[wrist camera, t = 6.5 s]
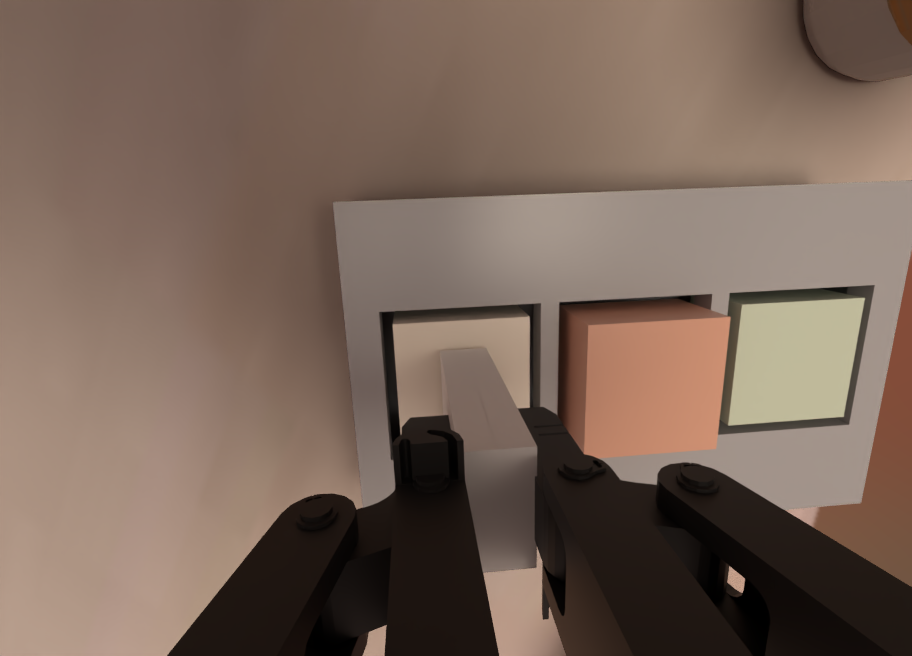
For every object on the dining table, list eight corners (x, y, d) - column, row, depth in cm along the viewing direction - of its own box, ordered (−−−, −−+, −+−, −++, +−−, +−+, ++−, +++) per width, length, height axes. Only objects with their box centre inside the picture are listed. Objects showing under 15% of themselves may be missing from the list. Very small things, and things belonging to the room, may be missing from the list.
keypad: (352, 203, 19) (332, 201, 14) (811, 185, 20) (925, 179, 15) (376, 477, 21) (366, 547, 17) (774, 445, 23) (860, 502, 18)
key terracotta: (558, 304, 17) (588, 325, 14) (677, 298, 17) (730, 316, 14) (556, 418, 18) (584, 459, 15) (668, 410, 18) (716, 448, 15)
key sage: (691, 289, 19) (742, 304, 16) (796, 283, 19) (865, 297, 16) (682, 393, 20) (728, 425, 17) (781, 386, 20) (843, 416, 17)
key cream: (395, 305, 18) (392, 324, 15) (511, 299, 18) (529, 316, 15) (403, 413, 19) (401, 450, 16) (512, 405, 19) (529, 440, 16)
